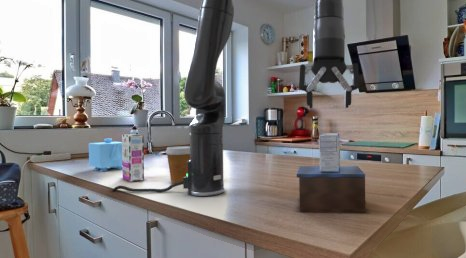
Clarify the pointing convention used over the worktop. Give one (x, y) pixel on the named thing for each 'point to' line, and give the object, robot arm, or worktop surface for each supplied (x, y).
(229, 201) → the worktop surface
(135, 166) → the candy bar box
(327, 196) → the chest
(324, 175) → the chest lid
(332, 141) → the medicine box
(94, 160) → the teapot
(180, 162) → the disposable coffee cup
